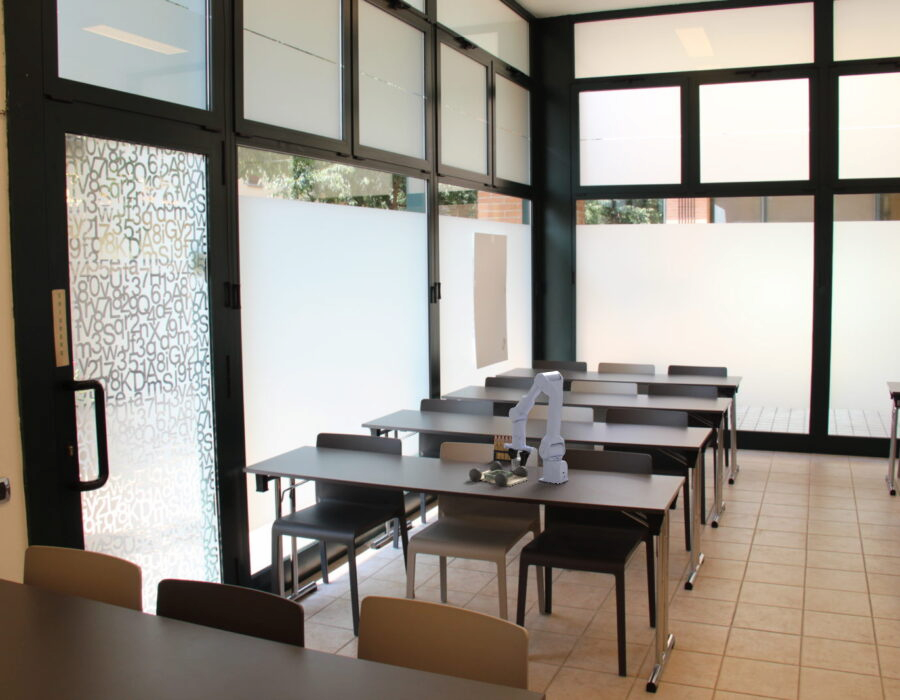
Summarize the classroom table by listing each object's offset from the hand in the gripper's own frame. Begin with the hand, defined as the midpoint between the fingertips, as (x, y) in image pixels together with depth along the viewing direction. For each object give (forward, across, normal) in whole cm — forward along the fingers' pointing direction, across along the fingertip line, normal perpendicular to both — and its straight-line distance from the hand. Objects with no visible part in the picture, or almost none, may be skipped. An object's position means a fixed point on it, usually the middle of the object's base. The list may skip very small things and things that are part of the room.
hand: (518, 467), depth 361 cm
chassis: (+1, -2, +17) cm, 17 cm away
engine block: (+1, 0, 0) cm, 1 cm away
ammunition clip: (+2, +14, -9) cm, 17 cm away
